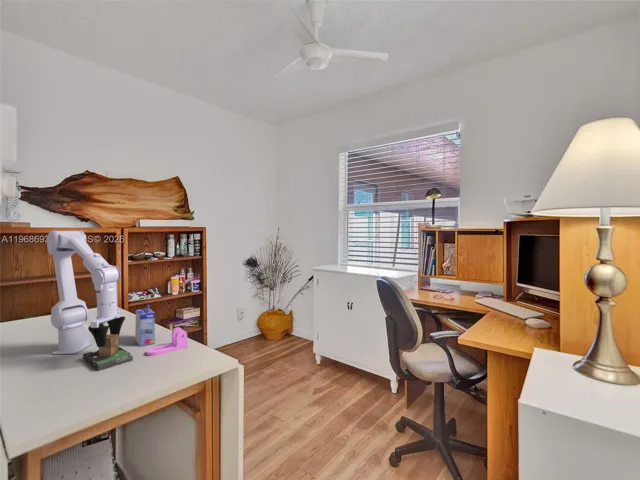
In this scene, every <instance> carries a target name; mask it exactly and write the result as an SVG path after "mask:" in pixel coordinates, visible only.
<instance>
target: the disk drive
mask: <svg viewBox="0 0 640 480" xmlns="http://www.w3.org/2000/svg"><path fill="white" fill-rule="evenodd" d="M82 354H83V355H82V357H83V361H85V362H86V363H87V364H88V363H89V364H88V365H90V366H91V367H92V368H93V369H94V370H96V371H97V372H99V371H100V370H101V371H103V370H106V369H109V368H113V366H114V367H116V365H117V366H120V365H123V363H124V364H126V362H127V363H129V362H133V361H134V360H133V358H134V357H133V354H131V353H130V352H128V350H125V349H123V348H121V346H119V345H118V352H117V353H115V354H114V355H112V356H99V349H97V350H96V351H89V352H86V353H85V352H84V353H82Z"/></svg>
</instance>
